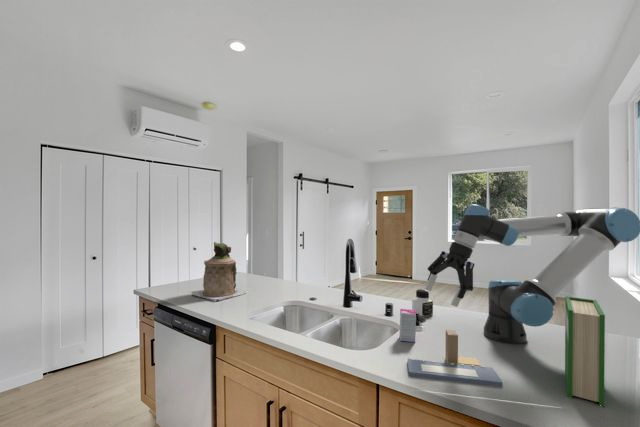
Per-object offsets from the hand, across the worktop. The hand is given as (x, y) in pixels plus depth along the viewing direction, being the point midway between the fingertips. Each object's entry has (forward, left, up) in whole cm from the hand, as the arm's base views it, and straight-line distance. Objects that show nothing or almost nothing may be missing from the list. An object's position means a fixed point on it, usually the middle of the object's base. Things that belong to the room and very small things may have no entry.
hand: (440, 297), depth 117 cm
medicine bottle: (+2, -40, -19) cm, 45 cm away
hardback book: (-36, +18, -19) cm, 45 cm away
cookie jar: (+119, -50, -19) cm, 131 cm away
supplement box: (+11, -5, -19) cm, 23 cm away
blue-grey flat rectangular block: (-1, +19, -19) cm, 27 cm away
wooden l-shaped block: (-6, +11, -19) cm, 22 cm away
